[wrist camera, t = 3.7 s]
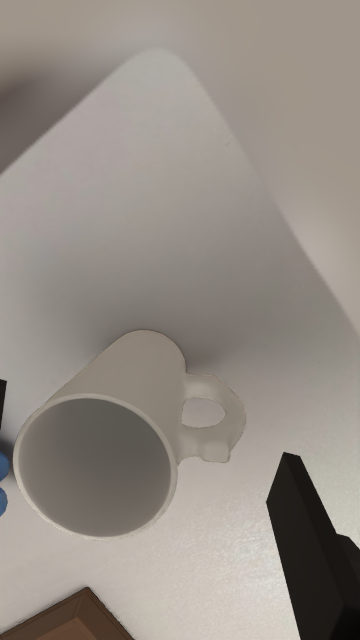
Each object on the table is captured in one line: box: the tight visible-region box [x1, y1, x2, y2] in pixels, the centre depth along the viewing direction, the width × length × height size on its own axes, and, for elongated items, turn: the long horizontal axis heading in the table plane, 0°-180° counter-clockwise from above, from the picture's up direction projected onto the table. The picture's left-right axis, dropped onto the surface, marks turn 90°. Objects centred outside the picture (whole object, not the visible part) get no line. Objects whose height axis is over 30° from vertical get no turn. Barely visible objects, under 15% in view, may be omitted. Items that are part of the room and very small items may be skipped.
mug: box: [13, 330, 246, 541], centre depth 19 cm, size 10×7×12 cm, turn 92°
